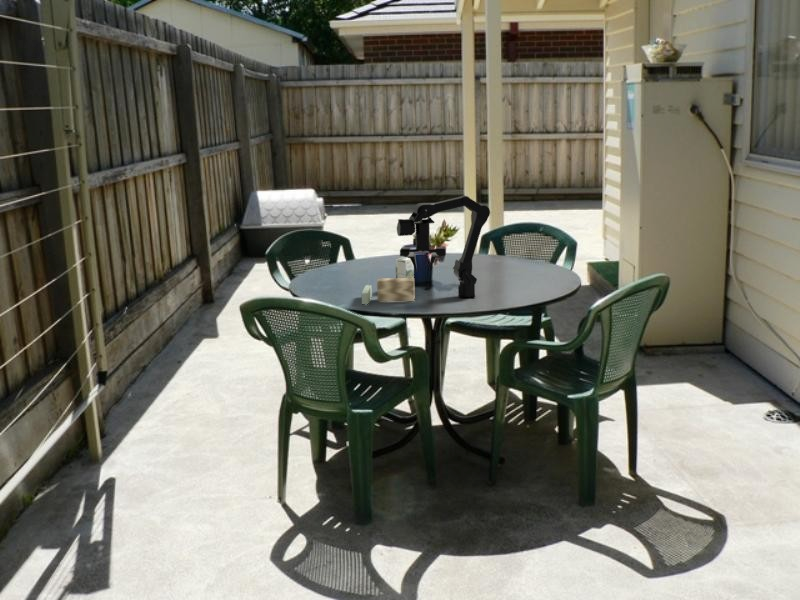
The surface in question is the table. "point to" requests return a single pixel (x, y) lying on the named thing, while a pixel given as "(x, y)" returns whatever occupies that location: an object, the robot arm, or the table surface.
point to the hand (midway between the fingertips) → (423, 272)
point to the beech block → (396, 289)
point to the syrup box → (404, 268)
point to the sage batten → (366, 294)
